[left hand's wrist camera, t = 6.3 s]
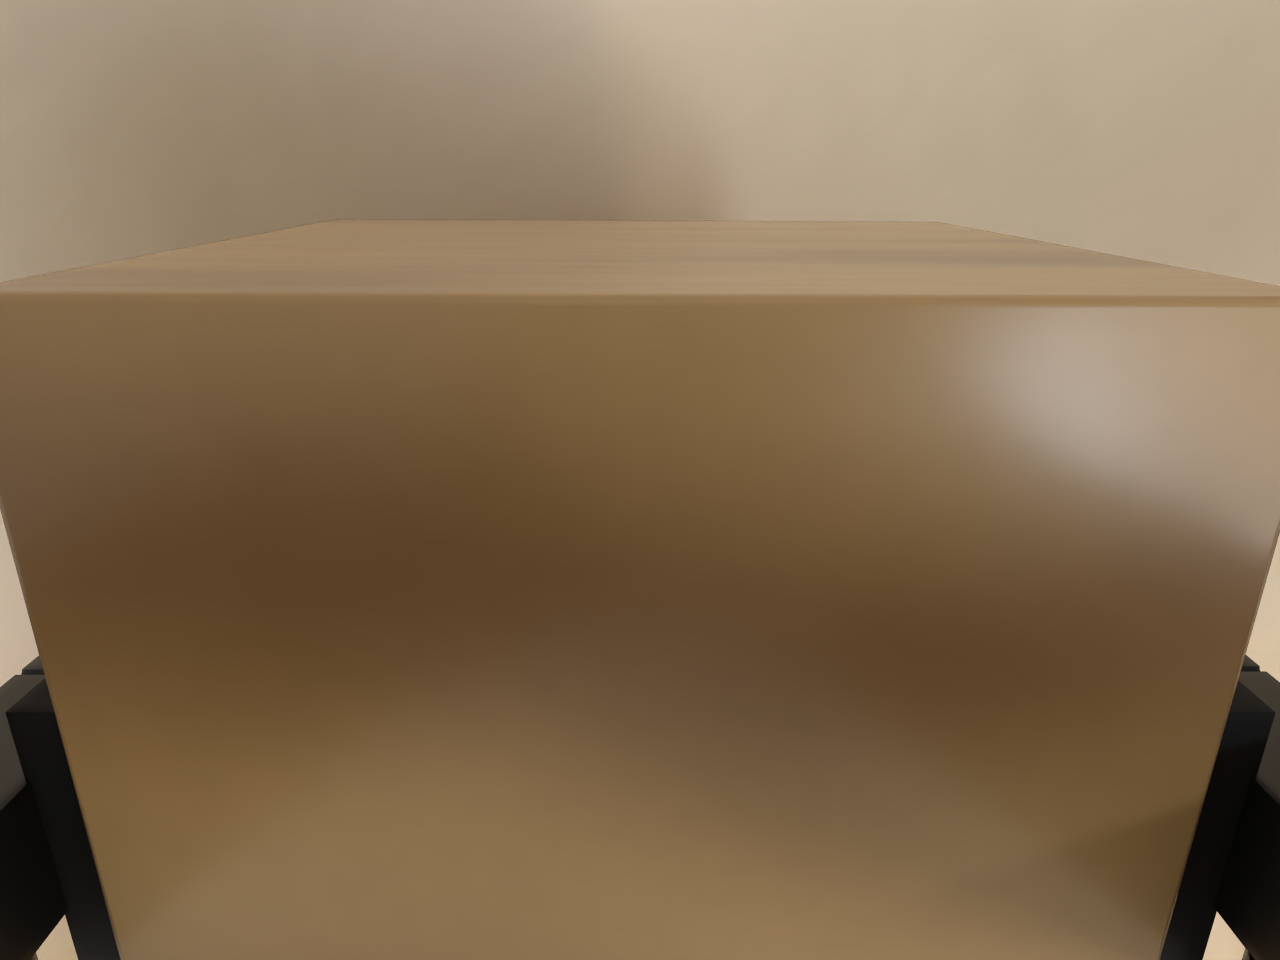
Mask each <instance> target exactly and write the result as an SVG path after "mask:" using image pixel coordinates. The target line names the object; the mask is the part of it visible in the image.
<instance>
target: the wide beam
mask: <svg viewBox="0 0 1280 960" xmlns="http://www.w3.org/2000/svg"><path fill="white" fill-rule="evenodd" d="M0 509H1V513H2V517H3V521H4V524H5V528H6V532H7V536H8V539H9V543H10V547H11V551H12V554H13V558H14V562H15V566H16V569H17V573H18V577H19V581H20V584H21V588H22V592H23V596H24V599H25V603H26V607H27V611H28V614H29V618H30V622H31V626H32V629H33V633H34V637H35V641H36V644H37V648H38V652H39V656H40V659H41V663H42V667H43V671H44V674H45V678H46V682H47V686H48V689H49V693H50V697H51V701H52V704H53V708H54V712H55V716H56V719H57V723H58V727H59V731H60V734H61V738H62V742H63V746H64V749H65V753H66V757H67V761H68V764H69V768H70V772H71V776H72V779H73V783H74V787H75V791H76V794H77V798H78V802H79V806H80V809H81V813H82V817H83V821H84V824H85V828H86V832H87V836H88V839H89V843H90V847H91V851H92V854H93V858H94V862H95V866H96V869H97V873H98V877H99V881H100V884H101V888H102V892H103V895H104V899H105V903H106V907H107V910H108V914H109V918H110V922H111V925H112V929H113V933H114V937H115V940H116V944H117V948H118V952H119V955H120V959H121V960H1159V959H1160V956H1161V952H1162V949H1163V945H1164V942H1165V938H1166V935H1167V931H1168V927H1169V924H1170V920H1171V917H1172V913H1173V910H1174V906H1175V903H1176V899H1177V895H1178V892H1179V888H1180V885H1181V881H1182V878H1183V874H1184V871H1185V867H1186V863H1187V860H1188V856H1189V853H1190V849H1191V846H1192V842H1193V839H1194V835H1195V831H1196V828H1197V824H1198V821H1199V817H1200V814H1201V810H1202V807H1203V803H1204V799H1205V796H1206V792H1207V789H1208V785H1209V782H1210V778H1211V775H1212V771H1213V767H1214V764H1215V760H1216V757H1217V753H1218V750H1219V746H1220V743H1221V739H1222V735H1223V732H1224V728H1225V725H1226V721H1227V718H1228V714H1229V711H1230V707H1231V703H1232V700H1233V696H1234V693H1235V689H1236V686H1237V682H1238V679H1239V675H1240V671H1241V668H1242V664H1243V661H1244V657H1245V654H1246V650H1247V647H1248V643H1249V639H1250V636H1251V632H1252V629H1253V625H1254V622H1255V618H1256V615H1257V611H1258V607H1259V604H1260V600H1261V597H1262V593H1263V590H1264V586H1265V582H1266V579H1267V575H1268V572H1269V568H1270V565H1271V561H1272V558H1273V554H1274V550H1275V547H1276V543H1277V540H1278V536H1279V533H1280V286H1275V285H1269V284H1264V283H1259V282H1253V281H1248V280H1243V279H1237V278H1232V277H1227V276H1221V275H1216V274H1211V273H1206V272H1200V271H1195V270H1190V269H1184V268H1179V267H1174V266H1168V265H1163V264H1158V263H1152V262H1147V261H1142V260H1137V259H1131V258H1126V257H1121V256H1115V255H1110V254H1105V253H1099V252H1094V251H1089V250H1083V249H1078V248H1073V247H1068V246H1062V245H1057V244H1052V243H1046V242H1041V241H1036V240H1030V239H1025V238H1020V237H1014V236H1009V235H1004V234H998V233H993V232H988V231H983V230H977V229H972V228H967V227H961V226H956V225H951V224H945V223H940V222H834V221H634V220H435V219H336V220H331V221H325V222H320V223H315V224H309V225H304V226H299V227H293V228H288V229H283V230H277V231H272V232H267V233H261V234H256V235H251V236H245V237H240V238H235V239H229V240H224V241H219V242H213V243H208V244H203V245H197V246H192V247H187V248H181V249H176V250H171V251H165V252H160V253H155V254H149V255H144V256H139V257H133V258H128V259H123V260H117V261H112V262H107V263H101V264H96V265H91V266H85V267H80V268H75V269H69V270H64V271H59V272H53V273H48V274H43V275H37V276H32V277H27V278H21V279H16V280H11V281H5V282H0Z"/></svg>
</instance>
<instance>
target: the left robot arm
mask: <svg viewBox="0 0 1280 960" xmlns="http://www.w3.org/2000/svg"><path fill="white" fill-rule="evenodd" d="M1259 668H1260V666H1259V665H1257V664H1256V663H1255V662H1254V661H1253V660H1251V659H1250V658H1249V657H1248V656H1246V655H1245V657H1244V661H1243V664H1242V668H1241V671H1240V675H1239V679H1238V682H1237V686H1236V689H1235V693H1234V696H1233V700H1232V703H1231V707H1230V711H1229V714H1228V718H1227V721H1226V725H1225V728H1224V732H1223V735H1222V739H1221V743H1220V746H1219V750H1218V753H1217V757H1216V760H1215V764H1214V767H1213V771H1212V775H1211V778H1210V782H1209V785H1208V789H1207V792H1206V796H1205V799H1204V803H1203V807H1202V810H1201V814H1200V817H1199V821H1198V824H1197V828H1196V831H1195V835H1194V839H1193V842H1192V846H1191V849H1190V853H1189V856H1188V860H1187V863H1186V867H1185V871H1184V874H1183V878H1182V881H1181V885H1180V888H1179V892H1178V895H1177V899H1176V903H1175V906H1174V910H1173V913H1172V917H1171V920H1170V924H1169V927H1168V931H1167V935H1166V938H1165V942H1164V945H1163V949H1162V952H1161V956H1160V959H1159V960H1202V959H1203V956H1204V952H1205V949H1206V946H1207V942H1208V939H1209V935H1210V932H1211V929H1212V925H1213V922H1214V919H1215V915H1216V912H1218V913H1219V914H1220V915H1221V917H1222V918H1223V919H1224V921H1225V922H1226V923H1227V925H1228V926H1229V927H1230V928H1231V930H1232V931H1233V932H1234V934H1235V935H1236V936H1237V938H1238V939H1239V940H1240V941H1241V943H1242V944H1243V945H1244V947H1245V951H1244V955H1243V958H1242V960H1280V682H1278V681H1277V680H1276V679H1275V678H1273V677H1272V676H1271V675H1270V674H1269V673H1267V672H1260V669H1259ZM64 915H65V916H66V919H67V923H68V926H69V929H70V933H71V936H72V940H73V943H74V946H75V950H76V953H77V956H78V960H121V959H120V955H119V952H118V948H117V944H116V940H115V937H114V933H113V929H112V925H111V922H110V918H109V914H108V910H107V907H106V903H105V899H104V895H103V892H102V888H101V884H100V881H99V877H98V873H97V869H96V866H95V862H94V858H93V854H92V851H91V847H90V843H89V839H88V836H87V832H86V828H85V824H84V821H83V817H82V813H81V809H80V806H79V802H78V798H77V794H76V791H75V787H74V783H73V779H72V776H71V772H70V768H69V764H68V761H67V757H66V753H65V749H64V746H63V742H62V738H61V734H60V731H59V727H58V723H57V719H56V716H55V712H54V708H53V704H52V701H51V697H50V693H49V689H48V686H47V682H46V678H45V674H44V671H43V667H42V663H41V659H40V656H38V657H37V658H36V659H34V660H33V661H32V662H31V663H29V664H28V665H27V666H26V667H25V668H23V669H22V674H21V675H15V676H14V677H12V678H11V679H10V680H9V681H7V682H6V683H5V684H4V685H3V686H1V687H0V960H38V958H37V955H36V951H37V950H38V949H39V947H40V946H41V945H42V943H43V942H44V941H45V939H46V938H47V937H48V936H49V934H50V933H51V932H52V930H53V929H54V928H55V926H56V925H57V924H58V922H59V921H60V920H61V919H62V917H63V916H64Z"/></svg>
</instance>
